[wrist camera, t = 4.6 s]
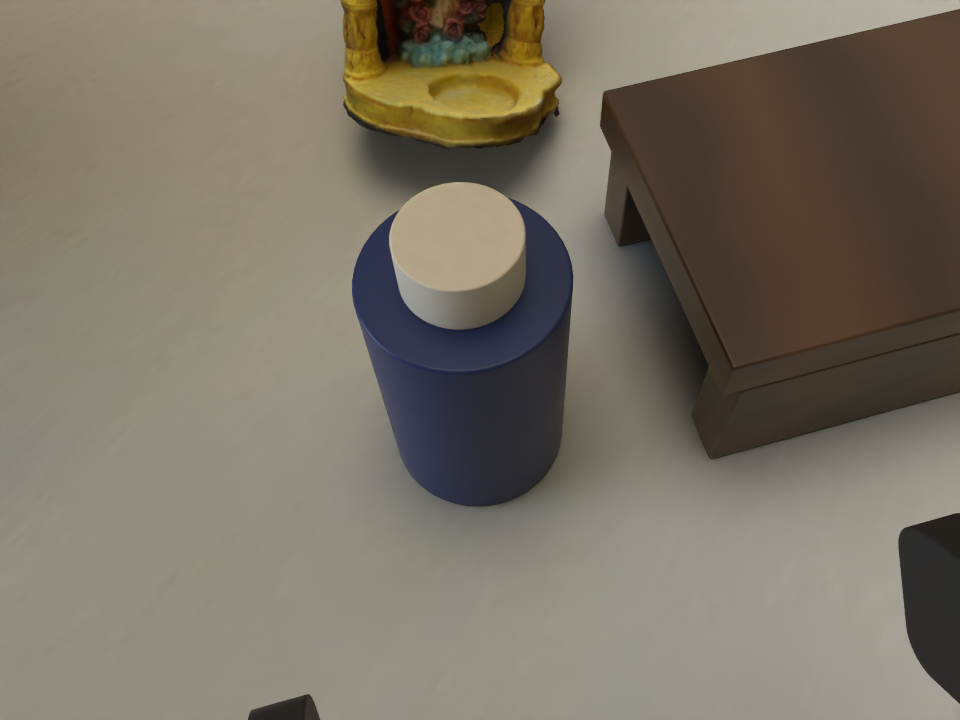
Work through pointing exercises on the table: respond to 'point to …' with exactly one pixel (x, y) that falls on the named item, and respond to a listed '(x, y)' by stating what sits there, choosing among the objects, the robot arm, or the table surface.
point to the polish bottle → (468, 339)
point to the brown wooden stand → (804, 224)
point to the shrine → (448, 70)
